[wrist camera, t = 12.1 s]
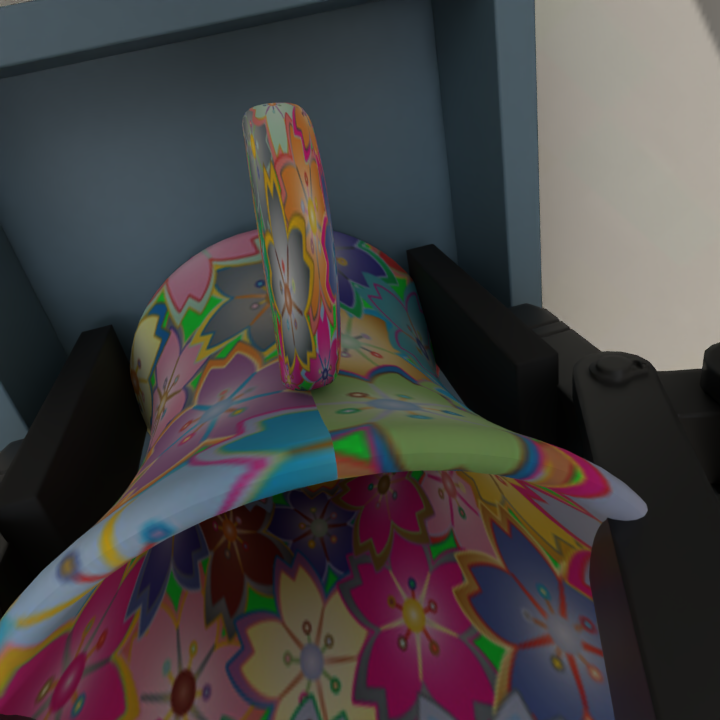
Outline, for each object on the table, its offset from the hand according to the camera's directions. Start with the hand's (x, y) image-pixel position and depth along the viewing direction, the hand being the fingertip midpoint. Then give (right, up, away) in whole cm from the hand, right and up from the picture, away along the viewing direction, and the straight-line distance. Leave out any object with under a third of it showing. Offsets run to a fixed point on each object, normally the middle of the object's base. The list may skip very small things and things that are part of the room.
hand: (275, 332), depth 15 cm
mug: (0, +1, +1) cm, 1 cm away
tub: (0, +1, +1) cm, 2 cm away
